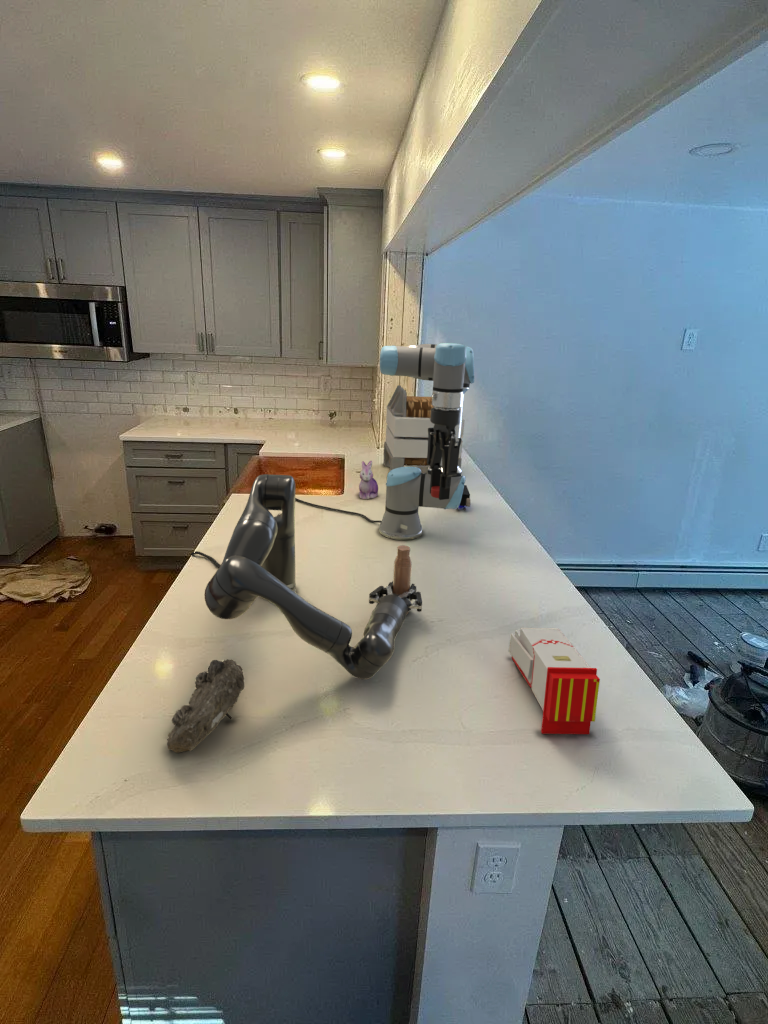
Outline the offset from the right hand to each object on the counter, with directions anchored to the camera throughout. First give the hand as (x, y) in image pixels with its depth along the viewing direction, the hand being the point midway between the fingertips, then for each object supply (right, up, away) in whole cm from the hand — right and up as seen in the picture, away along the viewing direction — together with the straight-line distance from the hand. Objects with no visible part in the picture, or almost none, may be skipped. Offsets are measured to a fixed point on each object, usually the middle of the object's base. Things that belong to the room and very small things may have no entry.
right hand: (439, 495), depth 150 cm
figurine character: (+16, -2, +81) cm, 82 cm away
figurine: (-21, +2, +88) cm, 91 cm away
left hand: (-9, -24, -1) cm, 25 cm away
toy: (+19, -42, -30) cm, 55 cm away
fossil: (-47, -43, -42) cm, 77 cm away
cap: (0, +2, -1) cm, 2 cm away
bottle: (-10, -30, -1) cm, 32 cm away
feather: (-54, -6, +60) cm, 81 cm away
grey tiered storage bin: (+3, +14, +125) cm, 126 cm away
